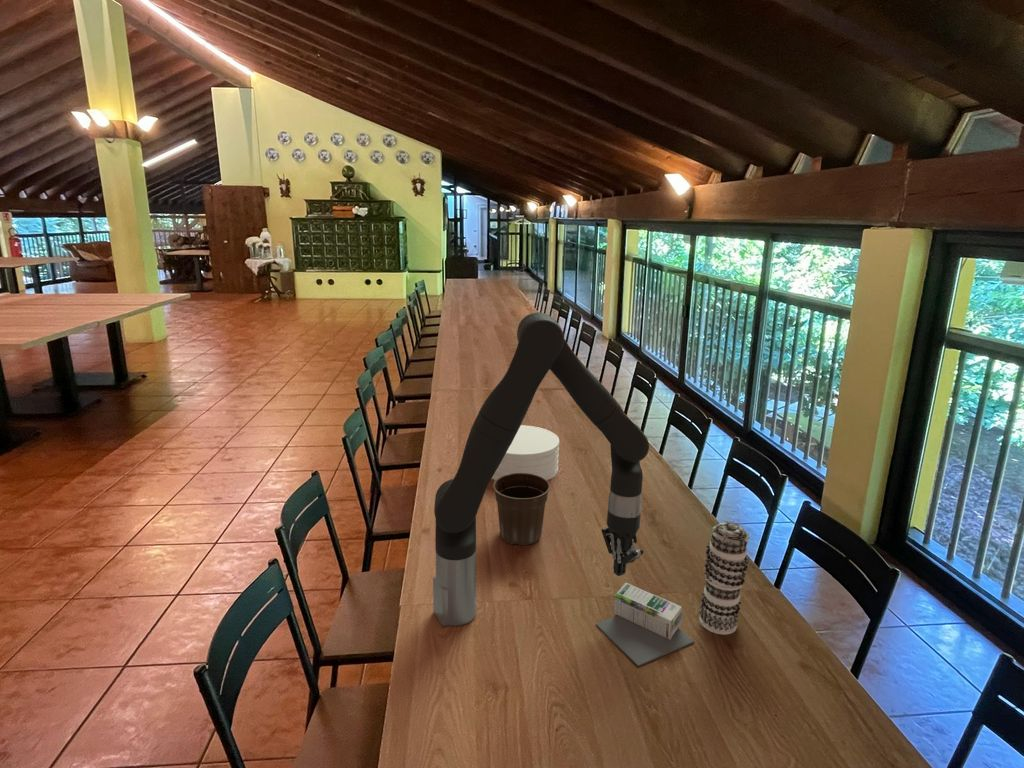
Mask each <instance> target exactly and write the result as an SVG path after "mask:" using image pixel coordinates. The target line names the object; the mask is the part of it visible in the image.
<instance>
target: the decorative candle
mask: <svg viewBox="0 0 1024 768" xmlns="http://www.w3.org/2000/svg"><path fill="white" fill-rule="evenodd" d="M750 538H751V537H750V534H749V533H748V532H747V531H746V530H745V528H744V527H742V525H739V524H738V523H734V522H732V521H731V522H730V521H723V522H721V523H718V524H716V525H715V526H712V527H711V539H710V542H708V543H707V545H706V549H707V550H705V554H706V558H705V564H704V567H705V569H704V577H705V578H704V579H705V585H704V588H703V591H702V593H701V596H702V597H701V599H700V601H701V604H700V605H699V606H700V607H699V608H700V610H699V617H698V618H699V624H701V626H702V627H703V628H704V629H706V630H707V631H708V632H711V633H713V634H717V635H723V636H724V635H731V634H733V633H735V632H736V630H737V628H738V625H737V623H739V620H738V618H739V617H740V614H739V611H740V610H741V606H740V605H741V604H742V601H741V589H742V587H743V585H744V583H745V577H746V571H747V569H748V568H749V567H748V564H749V558H748V557H747V553H748V547H747V546H748V542H749V541H750Z"/></svg>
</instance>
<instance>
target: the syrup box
mask: <svg viewBox="0 0 1024 768" xmlns="http://www.w3.org/2000/svg"><path fill="white" fill-rule="evenodd" d="M613 597H614V598H613V599H614V600H613V601H614V603H613V605H614V614H615V616H617V615H618V616H620V617H623V618H625V619H627V620H629V621H631V622H633V623H635V624H637V625H640V626H642V627H644V628H646V629H648V630H650V631H652V632H655V633H657V634H659V635H661V636H663V637H665V638H667V639H670V640H671V638H672V636H673V635H674V633H675V632H676V630H677V629H678V628H680V626H681V624H682V619H683V608H682V606H681V605H678V604H676V603H674V602H673V601H669V600H668V599H665V598H663V597H660V596H658V595H655V594H653V593H652V592H651V593H650V592H648V591H646V590H643V589H641V588H639V587H637V586H634V585H633V584H630V583H627V582H624V583H623V585H622V586H621V588H620V589H619V590H618V591H617V592H616V593H615V594H614V595H613Z"/></svg>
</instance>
